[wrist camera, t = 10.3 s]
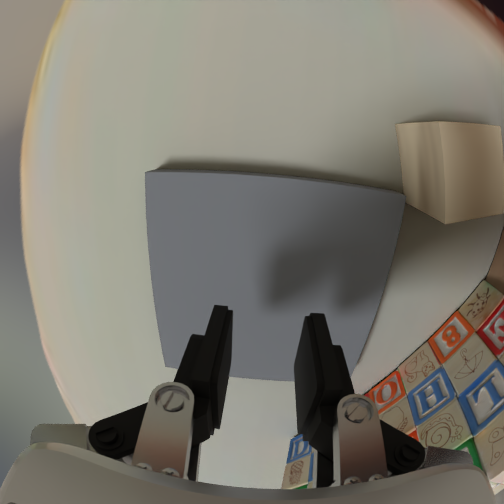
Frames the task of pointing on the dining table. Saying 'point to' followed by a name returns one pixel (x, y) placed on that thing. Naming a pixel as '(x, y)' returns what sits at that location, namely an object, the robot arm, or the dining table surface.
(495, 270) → the walnut block
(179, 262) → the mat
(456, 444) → the stack of blocks
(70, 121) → the dining table surface
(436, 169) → the maple cube
